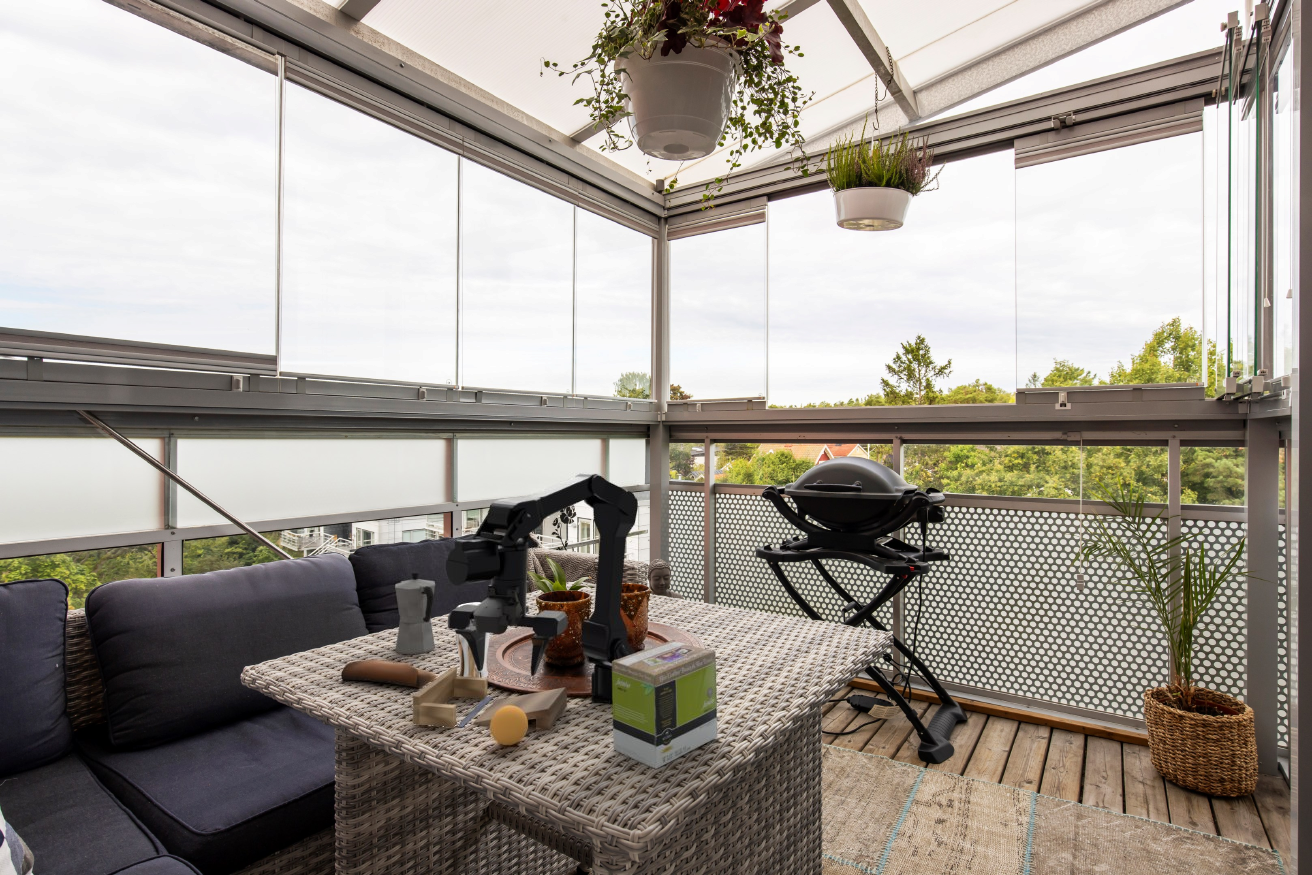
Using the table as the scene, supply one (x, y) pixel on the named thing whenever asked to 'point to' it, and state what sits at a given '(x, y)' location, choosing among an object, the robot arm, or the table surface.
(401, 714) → the table surface
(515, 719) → the ball
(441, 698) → the wooden u-shaped bracket
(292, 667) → the table surface
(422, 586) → the coffeepot
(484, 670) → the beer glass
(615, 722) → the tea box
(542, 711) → the ramp
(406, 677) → the sunglasses case
